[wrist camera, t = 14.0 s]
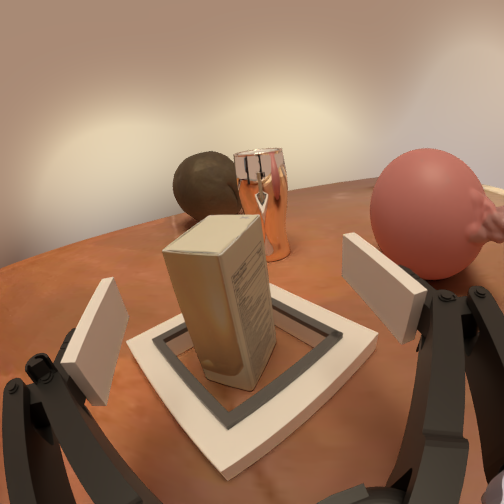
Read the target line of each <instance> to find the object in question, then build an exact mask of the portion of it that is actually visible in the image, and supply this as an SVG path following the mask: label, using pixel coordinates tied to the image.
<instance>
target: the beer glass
mask: <svg viewBox="0 0 504 504" xmlns="http://www.w3.org/2000/svg"><path fill="white" fill-rule="evenodd" d="M234 169H235V180H236V187H237V192H238V196H239V200H240V203H241V206H242V209H243V212H244V215H260V217H261V224H262V231H263V239H264V246H265V254H266V261H267V262H272V261H277V260H281V259H283V258H285V257H286V256H288V255H289V253H290V246H289V243H288V239H287V235H286V211H287V198H288V185H287V174H286V167H285V163H284V157H283V152H282V148H267V149H257V150H250V151H244V152H239V153H235V154H234Z"/></svg>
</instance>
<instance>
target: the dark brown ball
mask: <svg viewBox="0 0 504 504" xmlns="http://www.w3.org/2000/svg"><path fill="white" fill-rule="evenodd" d="M173 192H174V196H175V198H176V200H177V202H178V204H179V205H180V207H181V208H182V209H183V211H184V212H185V213H187V214H188V215H190V216H191V217H193V218H194V219H196V220H199V221H202V220H203V219H205V218H206V217H207V216H209V215H236V214H237V213H238V212H239V211H240V209H241V207H242V206H241V203H240V200H239V196H238V192H237V187H236V180H235V169H234V163H233V161H231V160H230V159H229V158H228V157H227V156H225V155H223V154H221V153H218V152H213V151H209V152H203V153H199V154H195V155H193V156H190V157H188V158H186V159H185V160H184V161H183V162H182V163H181V164H180V165H179V167H178V168H177V170H176V172H175V174H174V179H173Z"/></svg>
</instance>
